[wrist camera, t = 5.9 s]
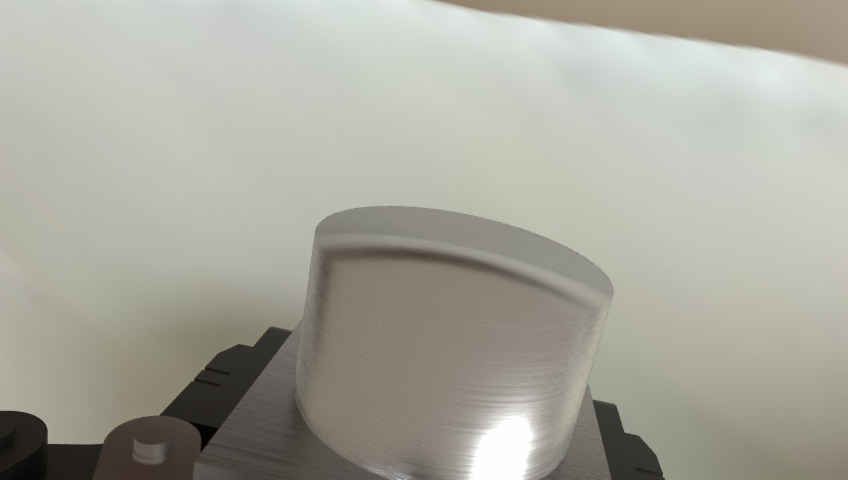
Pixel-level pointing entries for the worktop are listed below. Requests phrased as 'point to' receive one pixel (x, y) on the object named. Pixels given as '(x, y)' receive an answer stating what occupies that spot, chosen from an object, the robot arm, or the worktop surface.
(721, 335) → the worktop surface
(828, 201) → the worktop surface
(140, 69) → the worktop surface
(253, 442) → the coupling
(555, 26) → the worktop surface
